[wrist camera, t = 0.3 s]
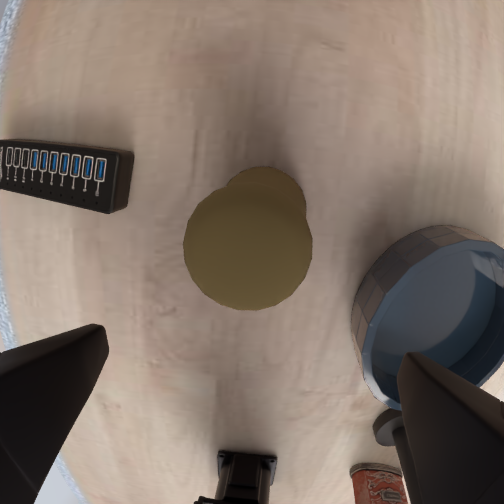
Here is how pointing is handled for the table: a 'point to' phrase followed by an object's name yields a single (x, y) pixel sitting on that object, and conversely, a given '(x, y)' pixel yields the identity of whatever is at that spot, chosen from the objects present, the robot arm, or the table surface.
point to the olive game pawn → (250, 240)
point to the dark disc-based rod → (398, 448)
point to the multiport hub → (67, 173)
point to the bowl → (431, 308)
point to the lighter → (377, 484)
